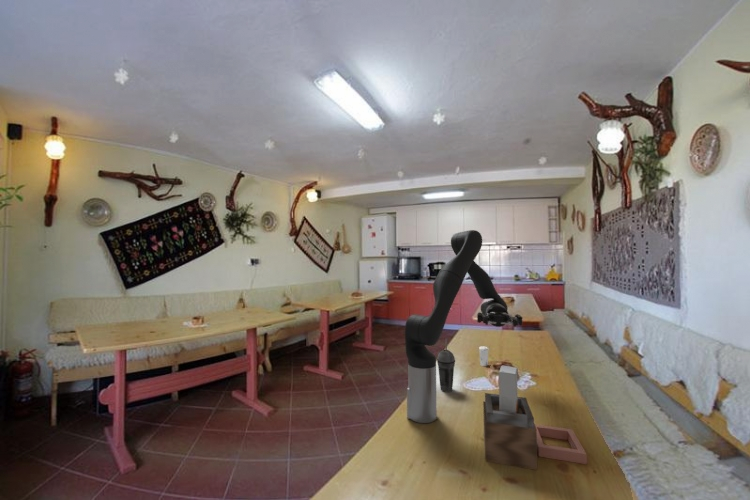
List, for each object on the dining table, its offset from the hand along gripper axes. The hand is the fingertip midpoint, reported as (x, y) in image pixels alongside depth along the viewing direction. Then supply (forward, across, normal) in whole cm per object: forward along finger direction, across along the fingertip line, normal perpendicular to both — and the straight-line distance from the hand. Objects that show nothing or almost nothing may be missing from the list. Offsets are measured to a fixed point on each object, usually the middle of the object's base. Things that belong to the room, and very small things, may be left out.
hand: (500, 322), depth 100 cm
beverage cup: (-20, -19, +32) cm, 42 cm away
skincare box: (+16, 0, +22) cm, 27 cm away
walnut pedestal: (+16, 0, +32) cm, 35 cm away
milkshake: (-54, -3, +31) cm, 63 cm away
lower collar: (+10, +13, +32) cm, 36 cm away
